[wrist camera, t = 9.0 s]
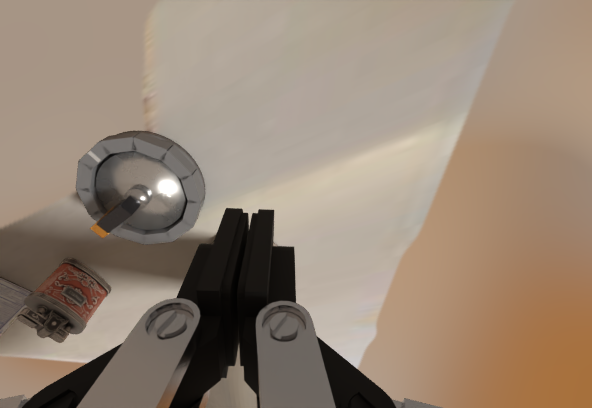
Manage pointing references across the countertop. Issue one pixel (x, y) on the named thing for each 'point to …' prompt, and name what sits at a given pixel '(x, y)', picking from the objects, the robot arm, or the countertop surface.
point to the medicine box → (10, 303)
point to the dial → (138, 193)
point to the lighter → (64, 301)
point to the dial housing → (157, 149)
